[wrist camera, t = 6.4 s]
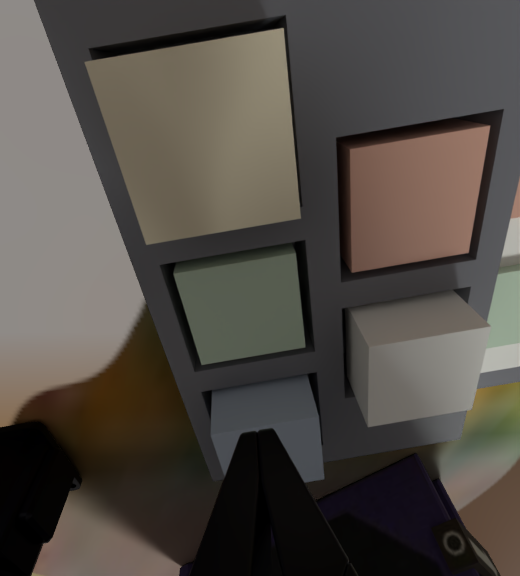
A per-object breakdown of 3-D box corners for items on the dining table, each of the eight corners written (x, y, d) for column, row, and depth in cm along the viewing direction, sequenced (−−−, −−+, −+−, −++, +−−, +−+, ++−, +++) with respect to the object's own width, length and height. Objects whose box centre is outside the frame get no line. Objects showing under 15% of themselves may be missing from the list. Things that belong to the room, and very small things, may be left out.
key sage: (204, 322, 18) (201, 365, 15) (181, 240, 15) (173, 273, 13) (293, 307, 18) (305, 347, 15) (283, 222, 15) (295, 253, 13)
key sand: (161, 210, 13) (146, 244, 10) (118, 64, 10) (84, 61, 8) (285, 188, 13) (301, 218, 10) (268, 38, 10) (283, 28, 8)
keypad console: (214, 420, 23) (212, 481, 19) (82, 6, 12) (26, -21, 9) (510, 369, 23) (561, 421, 19) (645, -90, 12) (813, -155, 9)
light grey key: (346, 375, 18) (367, 427, 15) (344, 301, 15) (369, 347, 13) (435, 360, 18) (471, 409, 15) (446, 284, 15) (491, 326, 13)
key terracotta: (331, 240, 16) (351, 272, 13) (326, 134, 14) (350, 149, 11) (429, 223, 16) (468, 252, 13) (440, 115, 14) (490, 125, 11)
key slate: (229, 439, 19) (230, 495, 17) (212, 380, 17) (210, 434, 14) (311, 425, 19) (324, 479, 17) (304, 364, 17) (318, 416, 15)
